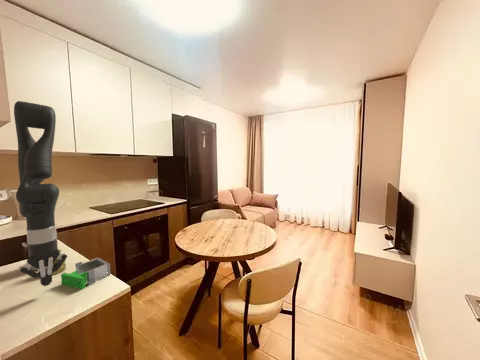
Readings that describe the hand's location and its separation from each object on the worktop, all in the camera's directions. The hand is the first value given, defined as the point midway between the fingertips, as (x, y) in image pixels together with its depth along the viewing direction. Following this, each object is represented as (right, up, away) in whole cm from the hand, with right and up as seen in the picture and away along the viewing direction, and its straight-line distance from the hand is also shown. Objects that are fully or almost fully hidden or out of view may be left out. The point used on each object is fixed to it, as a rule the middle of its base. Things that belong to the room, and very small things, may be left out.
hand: (46, 284), depth 73 cm
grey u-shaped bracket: (+8, -3, +12) cm, 15 cm away
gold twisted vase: (-12, -3, +16) cm, 20 cm away
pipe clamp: (+6, -4, +6) cm, 9 cm away
